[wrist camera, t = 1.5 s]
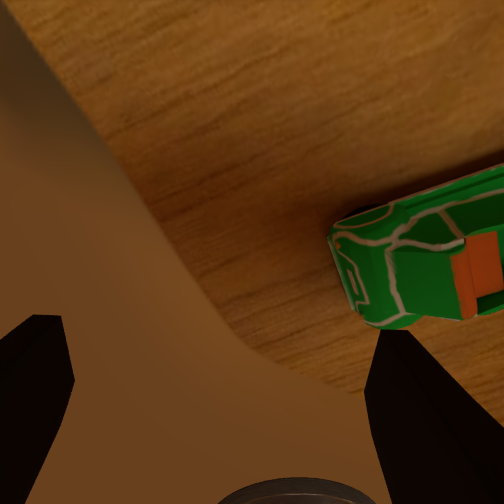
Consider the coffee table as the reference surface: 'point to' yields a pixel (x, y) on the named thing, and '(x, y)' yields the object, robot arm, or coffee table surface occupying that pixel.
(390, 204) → the toy car
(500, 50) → the coffee table surface
